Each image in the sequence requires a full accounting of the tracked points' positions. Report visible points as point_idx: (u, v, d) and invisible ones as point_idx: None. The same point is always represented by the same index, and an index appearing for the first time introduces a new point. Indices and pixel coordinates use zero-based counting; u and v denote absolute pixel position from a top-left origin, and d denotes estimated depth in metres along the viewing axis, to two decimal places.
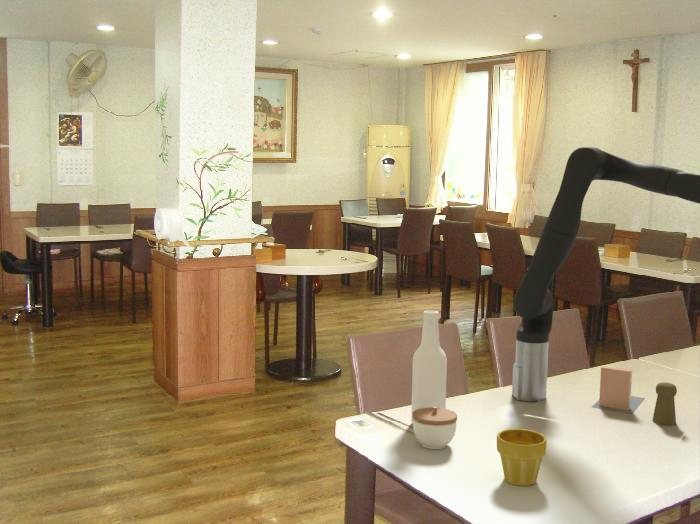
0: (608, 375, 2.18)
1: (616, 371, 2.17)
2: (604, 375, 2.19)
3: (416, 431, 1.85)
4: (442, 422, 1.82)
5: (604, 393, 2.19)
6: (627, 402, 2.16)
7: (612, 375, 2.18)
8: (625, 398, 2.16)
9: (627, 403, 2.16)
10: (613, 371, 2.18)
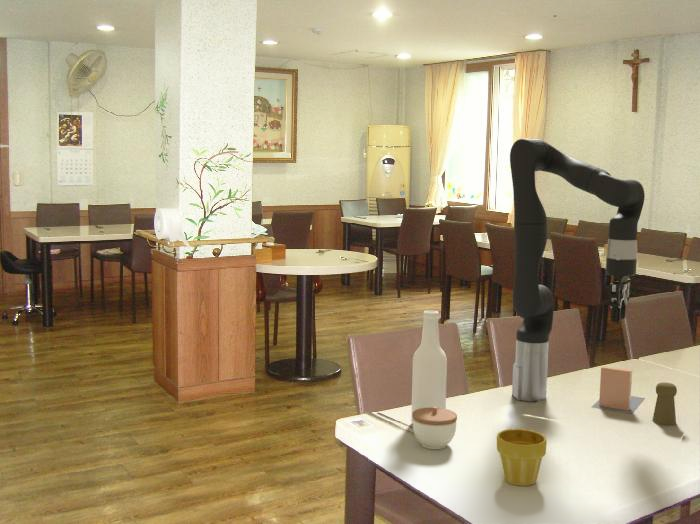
0: (608, 375, 2.18)
1: (616, 371, 2.17)
2: (604, 375, 2.19)
3: (416, 431, 1.85)
4: (442, 422, 1.82)
5: (604, 393, 2.19)
6: (627, 402, 2.16)
7: (612, 375, 2.18)
8: (625, 398, 2.16)
9: (627, 403, 2.16)
10: (613, 371, 2.18)
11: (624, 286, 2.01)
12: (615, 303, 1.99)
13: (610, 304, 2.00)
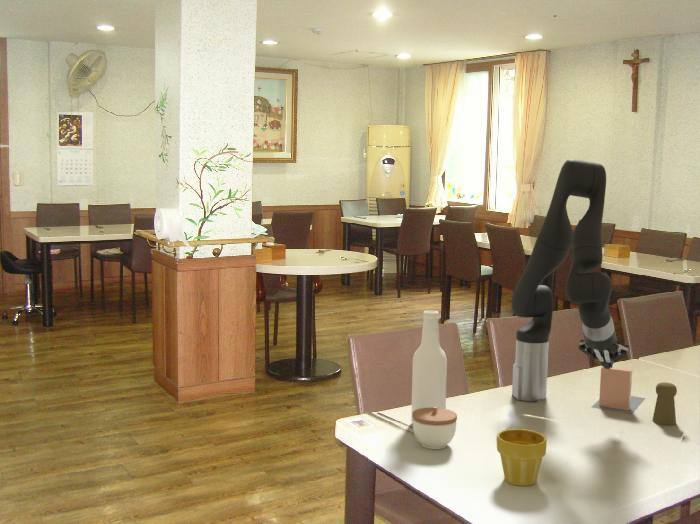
0: (608, 375, 2.18)
1: (616, 371, 2.17)
2: (604, 375, 2.19)
3: (416, 431, 1.85)
4: (442, 422, 1.82)
5: (604, 393, 2.19)
6: (627, 402, 2.16)
7: (612, 375, 2.18)
8: (625, 398, 2.16)
9: (627, 403, 2.16)
10: (613, 371, 2.18)
11: None
12: None
13: None
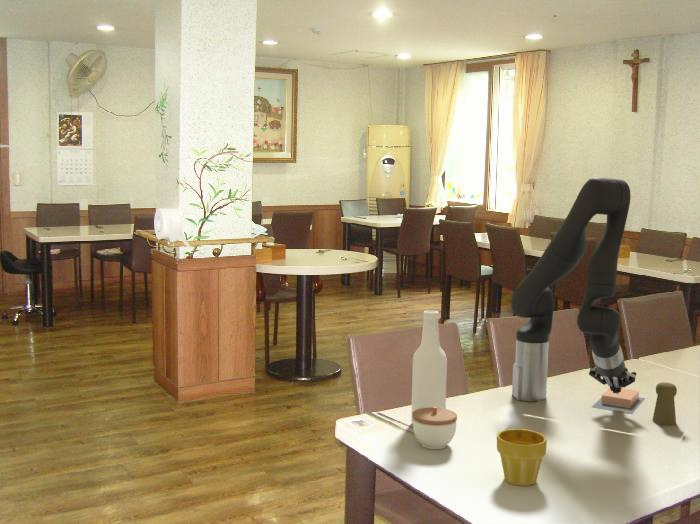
0: None
1: (625, 389, 2.29)
2: None
3: (416, 431, 1.85)
4: (442, 422, 1.82)
5: (609, 392, 2.25)
6: (631, 397, 2.20)
7: None
8: (630, 396, 2.21)
9: (631, 398, 2.20)
10: (622, 388, 2.29)
11: None
12: None
13: None
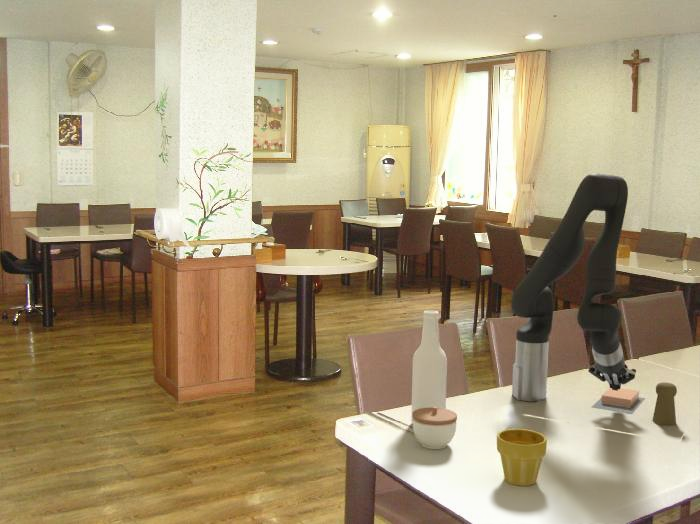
0: None
1: (625, 389, 2.29)
2: None
3: (416, 431, 1.85)
4: (442, 422, 1.82)
5: (609, 392, 2.25)
6: (631, 397, 2.20)
7: (620, 389, 2.28)
8: (630, 396, 2.21)
9: (631, 398, 2.20)
10: (622, 388, 2.29)
11: None
12: None
13: None
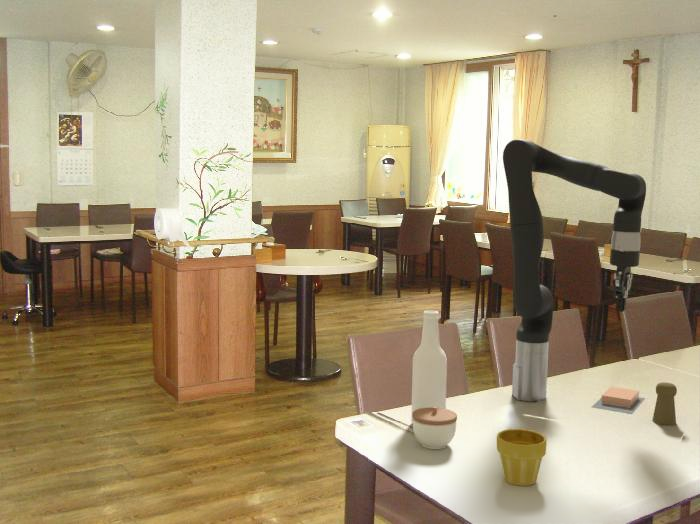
0: (616, 389, 2.29)
1: (625, 389, 2.29)
2: (612, 388, 2.29)
3: (416, 431, 1.85)
4: (442, 422, 1.82)
5: (609, 392, 2.25)
6: (631, 397, 2.20)
7: (620, 389, 2.28)
8: (630, 396, 2.21)
9: (631, 398, 2.20)
10: (622, 388, 2.29)
11: (627, 278, 2.09)
12: (620, 293, 2.09)
13: (615, 295, 2.10)
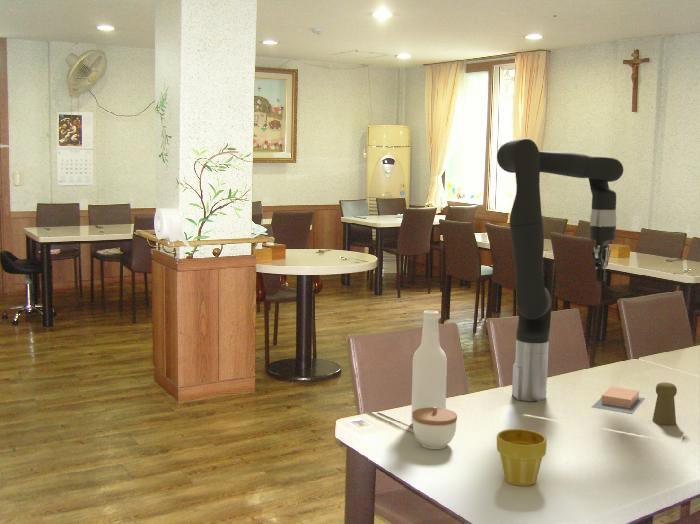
0: (616, 389, 2.29)
1: (625, 389, 2.29)
2: (612, 388, 2.29)
3: (416, 431, 1.85)
4: (442, 422, 1.82)
5: (609, 392, 2.25)
6: (631, 397, 2.20)
7: (620, 389, 2.28)
8: (630, 396, 2.21)
9: (631, 398, 2.20)
10: (622, 388, 2.29)
11: (605, 250, 2.35)
12: (599, 264, 2.35)
13: (595, 266, 2.36)
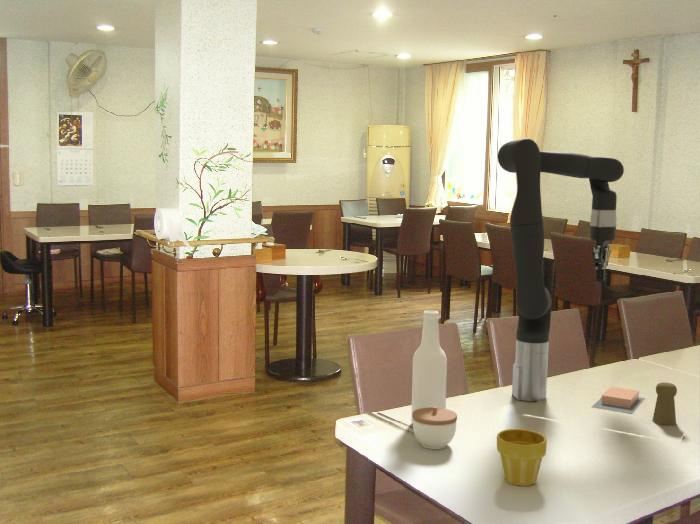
0: (616, 389, 2.29)
1: (625, 389, 2.29)
2: (612, 388, 2.29)
3: (416, 431, 1.85)
4: (442, 422, 1.82)
5: (609, 392, 2.25)
6: (631, 397, 2.20)
7: (620, 389, 2.28)
8: (630, 396, 2.21)
9: (631, 398, 2.20)
10: (622, 388, 2.29)
11: (605, 251, 2.35)
12: (599, 264, 2.35)
13: (595, 266, 2.36)
